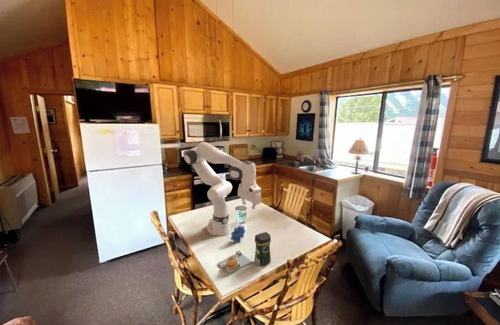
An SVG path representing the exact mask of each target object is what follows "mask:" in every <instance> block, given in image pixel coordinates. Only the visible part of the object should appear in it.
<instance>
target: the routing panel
mask: <svg viewBox="0 0 500 325" xmlns="http://www.w3.org/2000/svg"><path fill="white" fill-rule="evenodd" d="M234 256H236V253H235V254H234ZM227 259H228V257H227V258H226V259H223V260H221V261H219V262H217V265H218V267H220V269H222V270H223V272H224V273H225V274H227V276H230V275H232V274H234V273H236V272H238V271H240V270H241V269H243V268H246V267H247V266H248V265H251V264H252V262H253V261H252V260H250V258H248V257H247V256H246V255H244V254H243V253H242V252H241V256H239V257H238V258H237V261H238V262H239V263H240V268H238V269H236V270H234V271H233V272H231V273H229V272H228V271H227V270H226V269H225V268H224V267H223V263H225V264H226V265H227Z"/></svg>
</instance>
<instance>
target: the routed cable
mask: <svg viewBox="0 0 500 325" xmlns="http://www.w3.org/2000/svg"><path fill="white" fill-rule="evenodd" d="M241 253H242V252H241V251H240V250H237V251H236V252H235V254H236V256H235V257H236V258H238V257H239V256H241ZM235 254H234V253H233V254H232V255H235Z"/></svg>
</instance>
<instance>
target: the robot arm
mask: <svg viewBox="0 0 500 325" xmlns="http://www.w3.org/2000/svg"><path fill="white" fill-rule="evenodd" d="M183 158H184V161H185V163H186V164H188V165H192V166H193V169H194V170H195V171H194V172H196V174H197V175H198V177H199V178H200V179H201V180H202V182H204V184H205V185H208V186H210V187H209V189H208V191H207V196H206V197H207V198H208V200H209V201H210V202H211V203H212V205H213V213H212V218H210V219H209V221H208V223H207V224H206V225H205V228H206V230H207V231H208V233H209V234H210V235H211V236H218V237H220V236H221V237H222V236H227V235H228V234H230V233H231V230H232V226H231V220H230V214H229V204H228V203H227V202H226V201H225V199H226V198H225V197H226V196H228V195H229V194H230V193H231V192H232V189H233V185H232V183H231V182H230V181H227V180H225V179H223V178H222V177H220V176H219V175H218V174H217V173H216V171H214V169H213V168H212V167H211V166H210V165H209V163H210V164H215V165H216V164H225V165H226V164H227V165H230V166H231V167H230V168H229V170H228V174H229V178H231V179H232V180H234V181H239V180H241V182H240V183H239V184H238V188H237V196H238V197H239V198H241V202H242V205H246V204H247V201H248V202H250V203H251V204H252V206H251V209H252V210H255V209H256V206H257V205H259V204H261V203H262V194H261V191H262V188H261V187H260V186H259V185H258V183H257V181H256V176H257V170H256V168H257V167H256V164H255V162H254V161H251V160H244V161H242V160H241V159H239V158H236V157H234V156H232V155H230V154H228V153H227V152H225V151H223V150H220V149H219V148H217V147H216V146H214V145H212V144H211V143H210V142H209V143H208V142H205V141H202V142H201V141H200V143H198V144H197V146H194V147H193V148H190V149H189V150H187V151H185V153H184V154H183Z"/></svg>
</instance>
